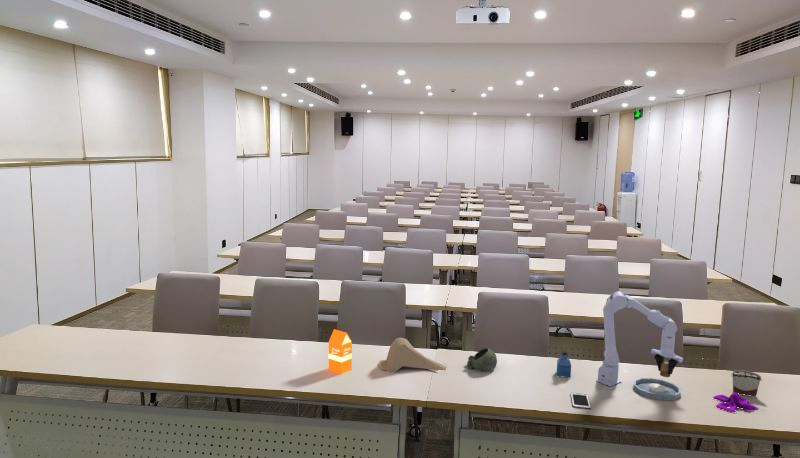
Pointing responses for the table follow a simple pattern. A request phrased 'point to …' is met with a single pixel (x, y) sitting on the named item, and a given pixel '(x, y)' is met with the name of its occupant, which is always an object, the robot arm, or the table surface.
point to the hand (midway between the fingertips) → (665, 372)
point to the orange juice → (340, 352)
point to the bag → (407, 358)
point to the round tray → (657, 389)
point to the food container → (745, 382)
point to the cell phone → (580, 400)
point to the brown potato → (664, 369)
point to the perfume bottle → (564, 365)
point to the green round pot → (483, 360)
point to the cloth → (734, 403)
